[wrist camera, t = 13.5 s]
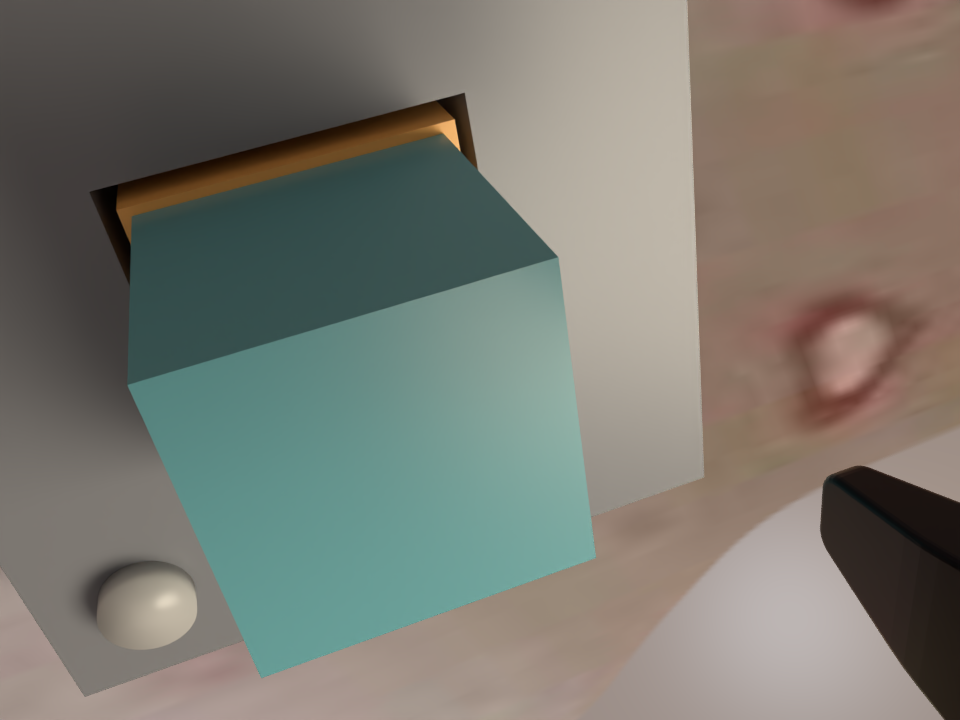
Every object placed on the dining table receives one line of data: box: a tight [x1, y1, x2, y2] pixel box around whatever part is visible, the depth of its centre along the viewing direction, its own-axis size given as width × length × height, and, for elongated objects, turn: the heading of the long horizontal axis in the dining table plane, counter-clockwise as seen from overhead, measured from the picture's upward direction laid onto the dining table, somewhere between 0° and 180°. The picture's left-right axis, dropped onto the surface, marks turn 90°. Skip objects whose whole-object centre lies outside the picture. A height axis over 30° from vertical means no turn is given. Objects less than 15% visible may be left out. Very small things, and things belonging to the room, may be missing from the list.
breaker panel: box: [0, 0, 704, 697], centre depth 17 cm, size 14×14×4 cm
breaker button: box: [116, 100, 461, 244], centre depth 17 cm, size 5×5×2 cm
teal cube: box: [127, 133, 596, 678], centre depth 14 cm, size 5×5×5 cm
